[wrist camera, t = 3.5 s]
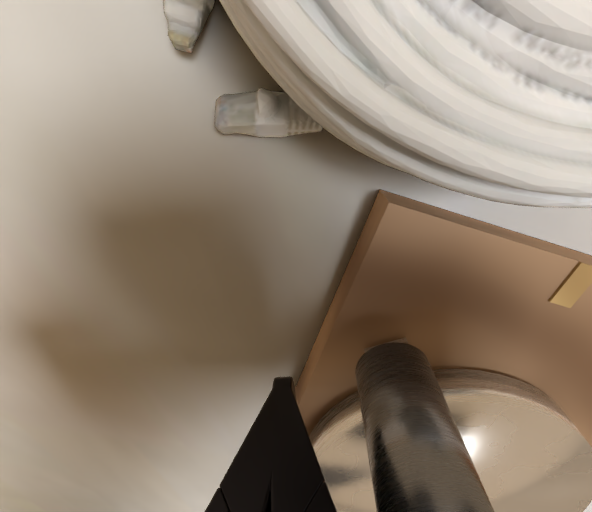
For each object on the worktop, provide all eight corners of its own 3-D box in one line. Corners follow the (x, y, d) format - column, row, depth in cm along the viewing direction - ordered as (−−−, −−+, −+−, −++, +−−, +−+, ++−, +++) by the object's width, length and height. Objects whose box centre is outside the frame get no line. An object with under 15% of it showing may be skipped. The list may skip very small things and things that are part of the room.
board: (441, 549, 22) (450, 580, 21) (244, 508, 21) (239, 538, 19) (718, 295, 12) (771, 321, 11) (380, 189, 11) (390, 203, 10)
